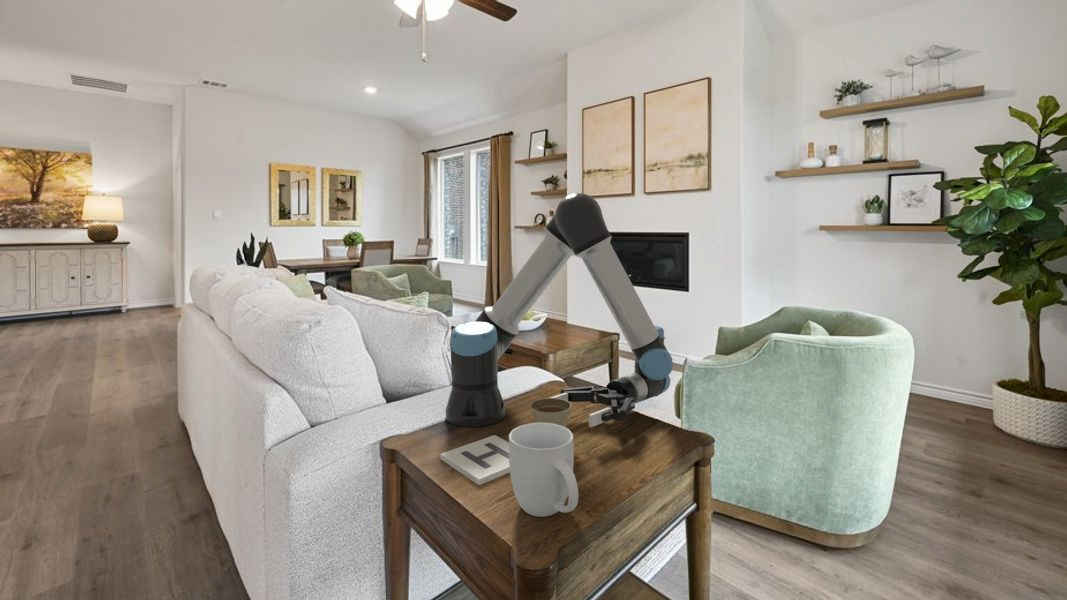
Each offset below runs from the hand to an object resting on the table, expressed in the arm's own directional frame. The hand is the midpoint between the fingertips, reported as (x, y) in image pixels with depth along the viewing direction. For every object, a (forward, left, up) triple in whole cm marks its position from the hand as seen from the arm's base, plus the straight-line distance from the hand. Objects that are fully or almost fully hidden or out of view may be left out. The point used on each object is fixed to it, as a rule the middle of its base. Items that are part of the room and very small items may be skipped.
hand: (567, 412), depth 112 cm
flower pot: (-1, -5, -6) cm, 8 cm away
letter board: (-3, -21, -6) cm, 22 cm away
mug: (+18, -24, -6) cm, 30 cm away
